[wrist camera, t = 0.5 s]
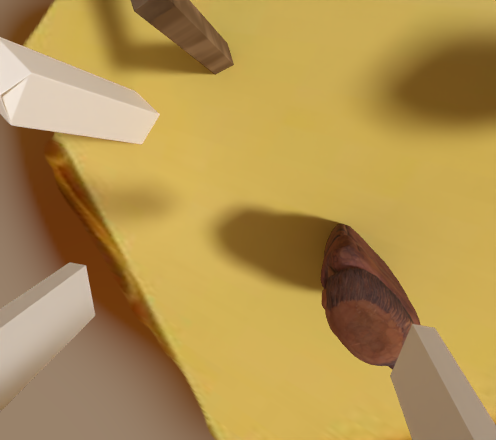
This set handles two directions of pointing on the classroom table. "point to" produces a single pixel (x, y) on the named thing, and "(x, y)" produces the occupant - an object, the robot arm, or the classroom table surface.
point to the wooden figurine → (364, 299)
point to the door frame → (187, 30)
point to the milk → (68, 98)
